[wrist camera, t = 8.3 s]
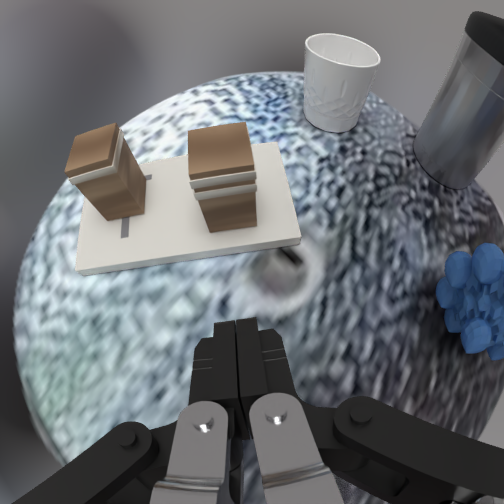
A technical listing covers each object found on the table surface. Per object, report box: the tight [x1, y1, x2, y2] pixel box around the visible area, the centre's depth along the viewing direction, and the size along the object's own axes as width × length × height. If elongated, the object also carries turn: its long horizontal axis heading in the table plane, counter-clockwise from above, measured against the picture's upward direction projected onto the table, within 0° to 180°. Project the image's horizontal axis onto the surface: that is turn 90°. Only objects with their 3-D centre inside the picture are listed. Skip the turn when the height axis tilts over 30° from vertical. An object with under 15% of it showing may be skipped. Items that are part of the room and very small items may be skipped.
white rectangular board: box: [75, 142, 301, 276], centre depth 27 cm, size 11×21×2 cm, turn 98°
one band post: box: [65, 123, 146, 221], centre depth 22 cm, size 4×4×8 cm
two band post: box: [188, 122, 257, 233], centre depth 21 cm, size 4×4×8 cm
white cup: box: [303, 34, 380, 133], centre depth 27 cm, size 8×8×10 cm
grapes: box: [436, 243, 504, 360], centre depth 16 cm, size 12×7×12 cm, turn 43°
